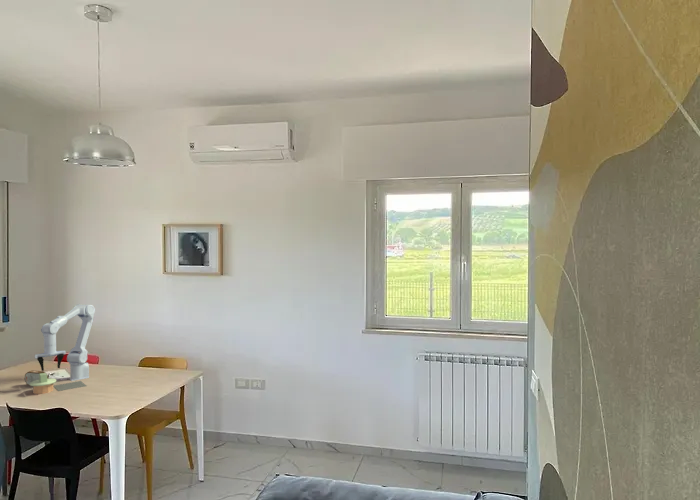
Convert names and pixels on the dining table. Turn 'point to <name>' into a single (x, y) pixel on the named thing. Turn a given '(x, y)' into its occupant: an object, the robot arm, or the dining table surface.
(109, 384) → the dining table surface
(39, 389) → the bowl
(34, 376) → the tin
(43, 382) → the lid
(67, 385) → the mat
